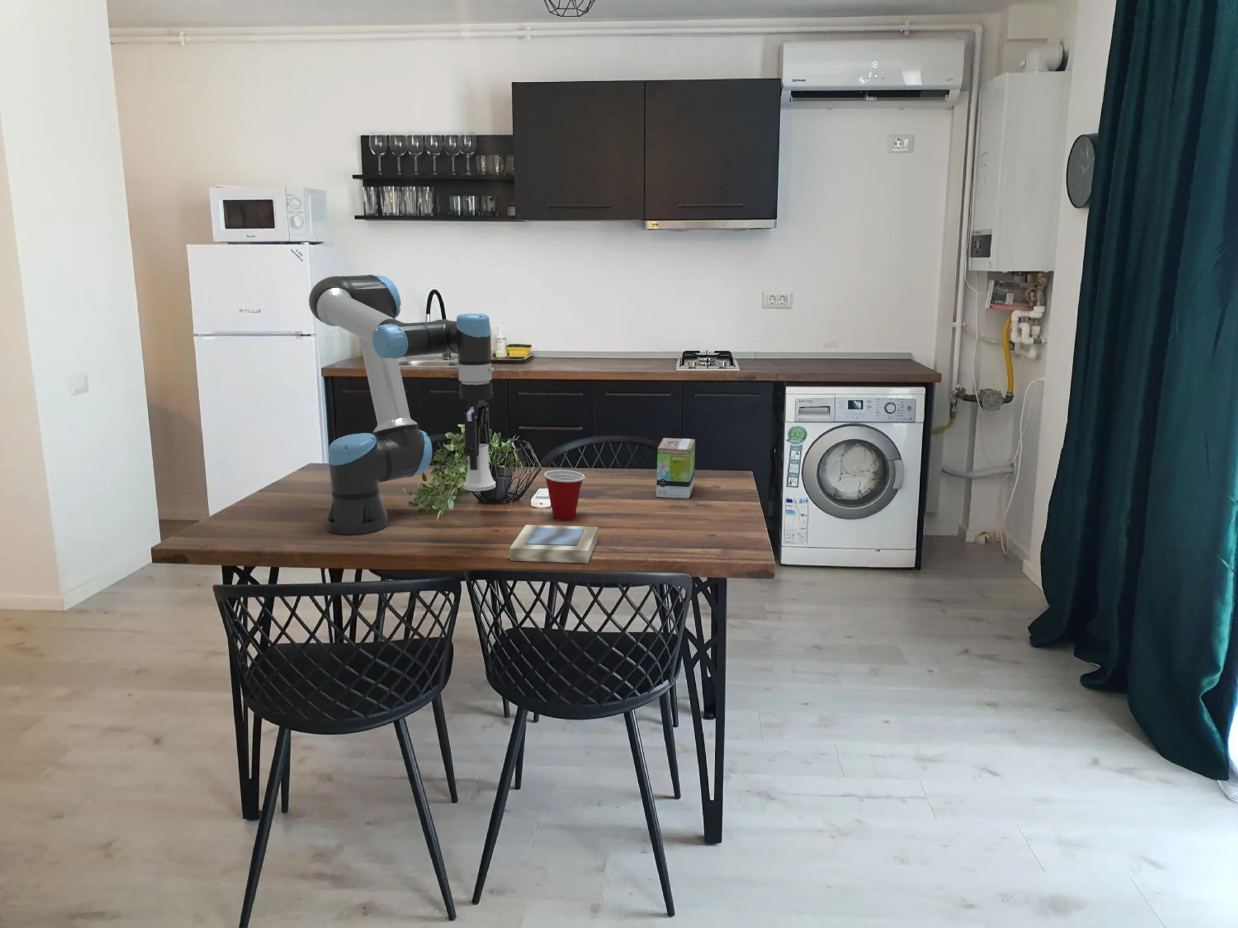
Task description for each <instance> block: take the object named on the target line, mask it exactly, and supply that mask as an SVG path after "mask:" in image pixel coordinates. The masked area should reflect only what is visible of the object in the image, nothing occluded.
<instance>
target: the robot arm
mask: <svg viewBox="0 0 1238 928" xmlns="http://www.w3.org/2000/svg"><path fill="white" fill-rule="evenodd" d="M401 304H402V299H401V296H400V293H399V290H398V288H397V286H396V285H395V283H394V281H392V280H391V279H390V278H389V277H387V276H385V275H374V274H364V275H362V274H361V275H347V276H346V275H342V276H341V275H336V276H334V275H333V276H329V277H328V276H327V277H326V278H323V279H321V280H320V281H318V282H317V283H316V284H315V285H314V286H313V287H312V289H311V291H310V292H309V297H308V306H309V309H310V311H311V314H313V316H314V317H315V318H316V319H317V320H319V321H320V322H321V323H323V324H325V325H327V326H329V327H330V326H331V327H340V328H342V329H344V330H346V331H348V332H350V333H352V334H353V335H356V336H357V337H358V338H359V342H360V348H361V353H362V357H363V361H364V367H365V372H366V375H367V376H366V377H367V380H368V386H369V389H370V395H371V399H372V404H373V409H374V413H375V418H376V422H377V426H376V427H375V428H374V430H373V433H369V432H361V433H352V434H348V435H344V436H341V437H338V438H337V439H334V440H333V441H332V442H331V443H330V444H329V447H328V464H329V473H330V475H329V476H330V485H331V498H332V499H331V503H330V507H329V510H328V515H327V519H326V527H327V530H328V531H329V532H331V533H334V534H338V535H361V534H362V535H364V534H369V533H374V532H377V531H380V530H383V529H385V528H386V527H387V526H388V525H389V517H388V513H387V510H386V507H385V506H384V504H383V501H382V499H381V496H380V485H379V484H380V483H383V482H390V481H394V480H395V481H396V480H399V479H405V478H412V477H414V476H418V475H421V474H423V473H425V472H426V471H427V470H428V468H429V467H430V465H431V461H432V458H433V447H432V441H431V439H430V436H428V434H427V432H425V431H423V430H421V429H419V425H418V422H416V421H415V420H413V419H412V418H411V416H410V415H411V414H410V410H409V406H408V400H407V397H406V391H405V386H404V382H403V377H402V376H403V375H402V372H401V368H400V362H399V359H401V358H410V357H416V356H417V357H418V356H419V357H420V356H426V355H427V356H429V355H439V354H456V355H457V361H458V364H457V366H458V367H457V368H458V370H457V371H458V381H459V382H460V383H459V385H458V387H459V388H458V389H459V390H458V391H459V399H460V400H462V401H467V407H466V411H465V412H463V419H464V421H463V422H464V453H463V455H464V456H465V457H467V461H468V468H469V483H481V457H480V455H479V444H487V445H488V449H491V448H492V447H493V446H492V445H493V444H492V443H491V442H492V441H491V430H490V429H491V428H490V427H491V426H490V414H489V413H490V411H489V410H490V404H489V402H486V401H488V400H491V399H492V398H493V383H492V382H490V381H491V380H492V378H493V377H492V372H494V371H495V369H494V367H492V337H491V335H492V329H491V325H490V324H491V321H490V317H489V315H487V314H486V313H461V314H460V313H459V314H458V315H457V316H456V320H451V319H450V320H449V319H445V318H444V319H434V320H432V321H421V322H420V321H419V322H408V323H407V322H402V321H400V320H399V319H396V318H398V317H399V316H400V313H401V310H402V308H401V306H402V305H401ZM489 456H490V455H489V454H488V464H489V465H490V460H489V458H490V457H489Z"/></svg>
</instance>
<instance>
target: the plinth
mask: <svg viewBox="0 0 1238 928" xmlns="http://www.w3.org/2000/svg"><path fill="white" fill-rule="evenodd" d="M597 539H598V540H599V527H598V526H584V525H583V526H580V525H550V524H549V525H548V524H547V525H545V524H525V525H524V527H523V528H522V530H521V531H520V533H519V534H518V536H517V537H516V539H515V540H514V541H513V543H512V544H511V546H510V547H509V560H510V561H513V562H514V561H515V562H516V561H517V562H539V563H540V562H541V563H542V562H544V563H545V562H546V563H569V564H571V563H573V564H588V563H589V562H590V559H591V557H590V555H591V556H592V554H593V552H592V551H594V550H593V549H594V548H595V547H596V545H595V544H597V542H598V540H597ZM594 546H595V547H594ZM591 553H592V554H591ZM589 558H590V559H589Z"/></svg>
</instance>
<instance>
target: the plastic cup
mask: <svg viewBox="0 0 1238 928" xmlns="http://www.w3.org/2000/svg"><path fill="white" fill-rule="evenodd" d="M543 476H544V478H545V483H546V486H547V490H548V491H547V492H548V497H549V503H550V506H551V513H552V516H553V518H554V519H555V520H558V521H570V520H571V521H572V520H574V519H575V518H576V514H577V507H578V503H579V502H578V501H579V497H580V492H581V487H582V484H583V482H584V480H585V475H584V474H583V473H582V472H579V471H576V470H568V469H553V470H547V471H545V472H544V475H543Z"/></svg>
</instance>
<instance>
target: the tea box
mask: <svg viewBox="0 0 1238 928" xmlns="http://www.w3.org/2000/svg"><path fill="white" fill-rule="evenodd" d="M656 454H657V457H656V458H657V459H656V460H657V461H656V485H655V486H656V492H655V495H656V497H657V498H670V499H671V498H672V499H690V496H691V494H692V491H693V488H694V485H695V461H696V459H695V457H696V455H695V454H696V439H694V438H676V437H675V438H673V437H672V438H671V437H663V438H662V440H661V442H660V443H659V445H658V447H657V453H656Z"/></svg>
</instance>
